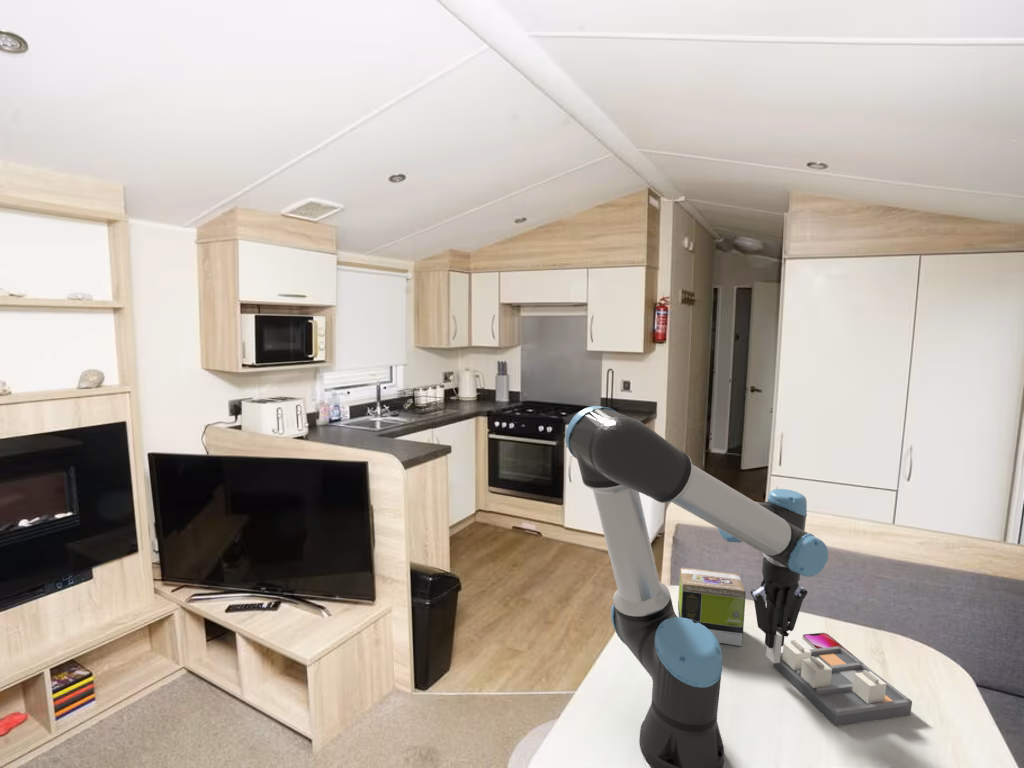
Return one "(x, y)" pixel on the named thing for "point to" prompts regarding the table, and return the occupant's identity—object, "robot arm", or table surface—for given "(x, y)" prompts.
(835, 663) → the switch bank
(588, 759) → the table surface
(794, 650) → the tab
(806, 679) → the tab
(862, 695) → the tab
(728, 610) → the tea box
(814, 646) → the smartphone
